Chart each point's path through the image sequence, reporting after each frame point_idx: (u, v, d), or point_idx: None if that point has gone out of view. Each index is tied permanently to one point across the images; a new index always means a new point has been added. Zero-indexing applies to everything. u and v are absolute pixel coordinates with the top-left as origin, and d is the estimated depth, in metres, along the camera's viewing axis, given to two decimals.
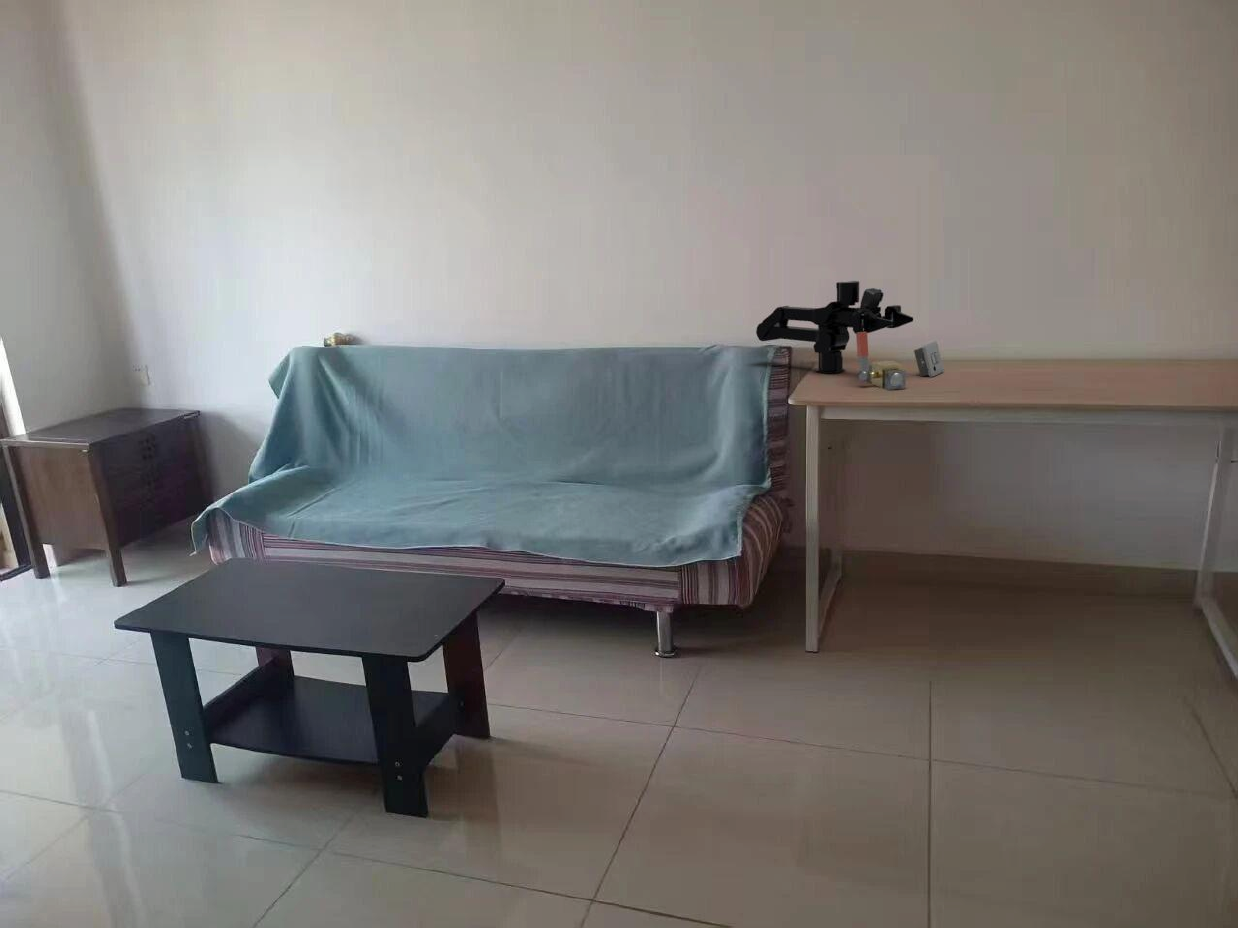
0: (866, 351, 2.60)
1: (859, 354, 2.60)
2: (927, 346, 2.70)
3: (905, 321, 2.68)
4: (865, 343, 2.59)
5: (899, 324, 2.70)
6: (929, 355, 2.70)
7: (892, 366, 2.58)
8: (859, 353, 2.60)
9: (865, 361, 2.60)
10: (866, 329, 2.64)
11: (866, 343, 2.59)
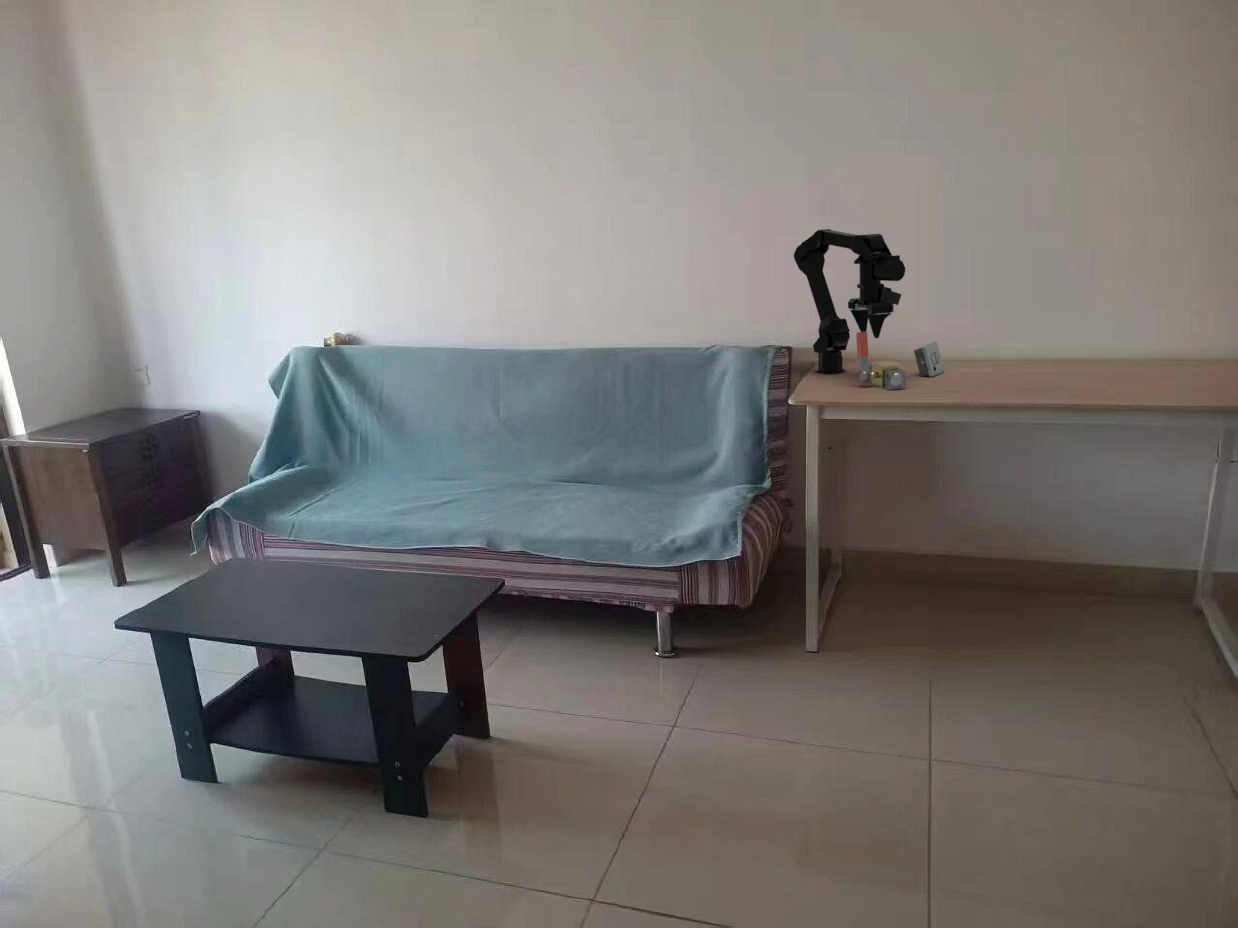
0: (866, 351, 2.60)
1: (859, 354, 2.60)
2: (927, 346, 2.70)
3: (861, 326, 2.74)
4: (865, 343, 2.59)
5: (857, 319, 2.74)
6: (929, 355, 2.70)
7: (892, 366, 2.58)
8: (859, 353, 2.60)
9: (865, 361, 2.60)
10: (874, 316, 2.61)
11: (866, 343, 2.59)
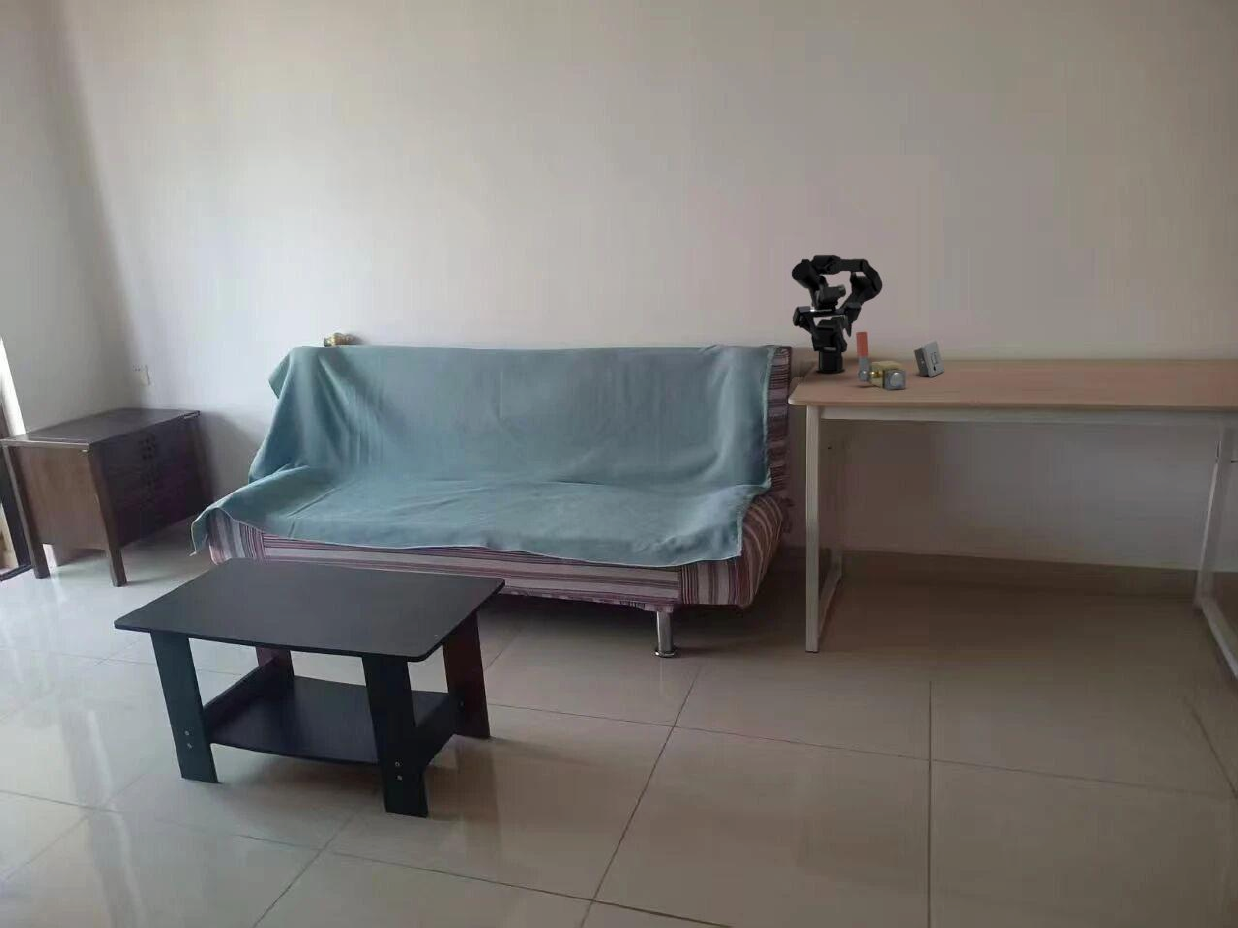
0: (866, 351, 2.60)
1: (859, 354, 2.60)
2: (927, 346, 2.70)
3: (847, 331, 2.69)
4: (865, 343, 2.59)
5: (845, 327, 2.71)
6: (929, 355, 2.70)
7: (892, 366, 2.58)
8: (859, 353, 2.60)
9: (865, 361, 2.60)
10: (801, 325, 2.71)
11: (866, 343, 2.59)
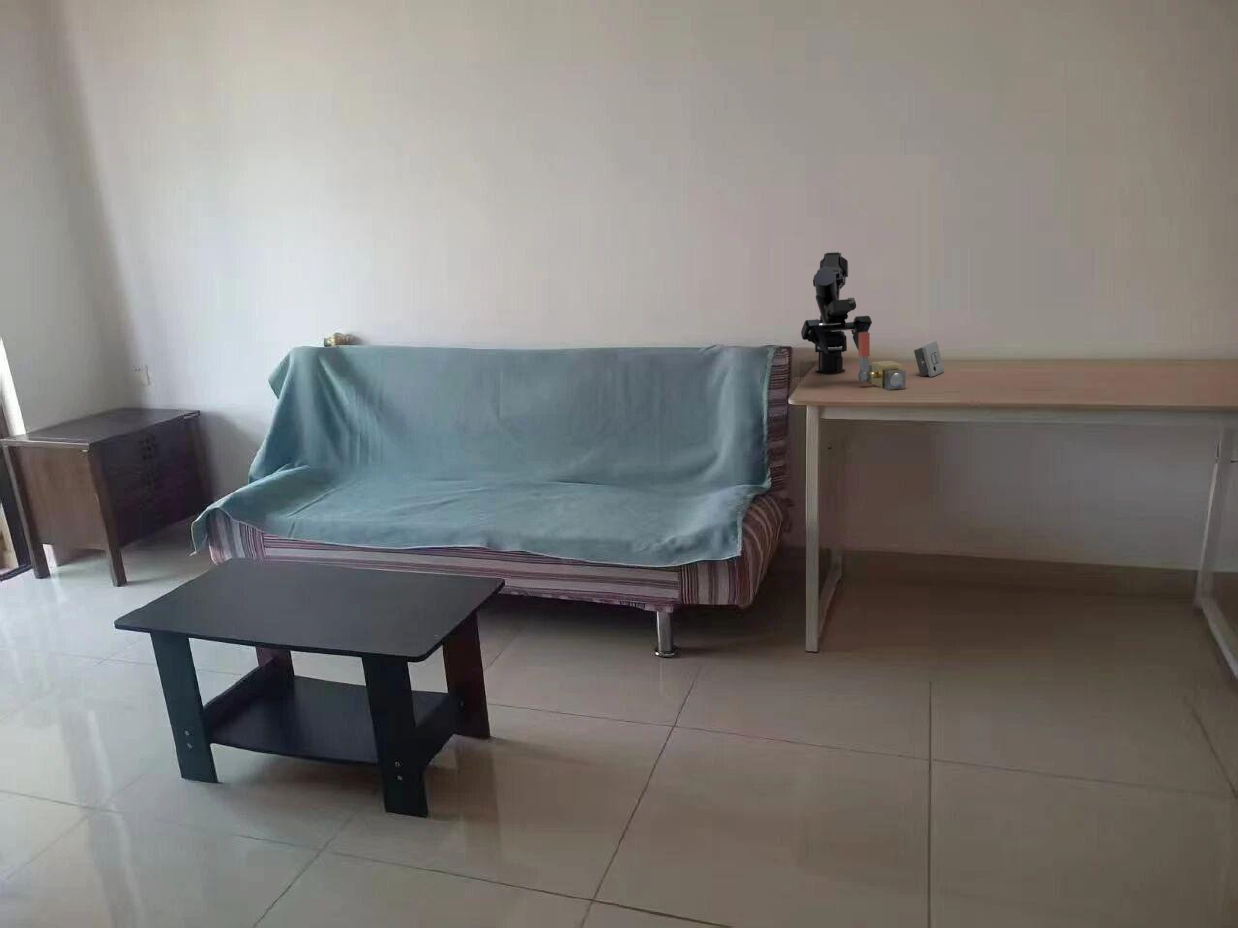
0: (867, 352, 2.59)
1: (860, 354, 2.60)
2: (927, 346, 2.70)
3: (856, 345, 2.63)
4: (867, 344, 2.58)
5: (854, 341, 2.65)
6: (929, 355, 2.70)
7: (892, 366, 2.58)
8: (860, 353, 2.60)
9: (866, 362, 2.60)
10: (810, 339, 2.64)
11: (868, 344, 2.58)
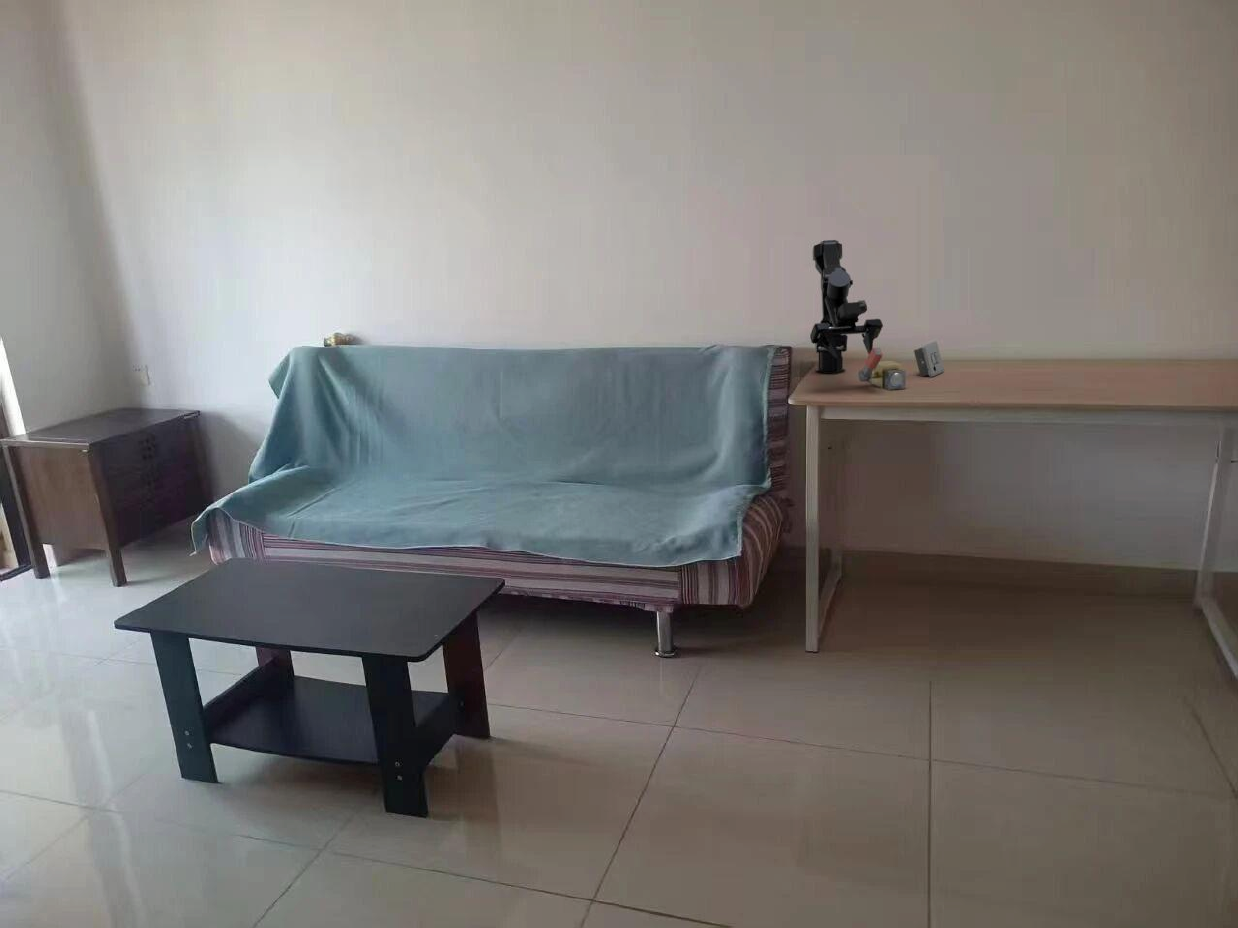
0: (874, 366, 2.55)
1: (867, 365, 2.56)
2: (927, 346, 2.70)
3: (867, 349, 2.56)
4: (876, 362, 2.53)
5: (865, 345, 2.58)
6: (929, 355, 2.70)
7: (892, 366, 2.58)
8: (867, 364, 2.56)
9: (870, 371, 2.57)
10: (819, 343, 2.57)
11: (877, 362, 2.53)
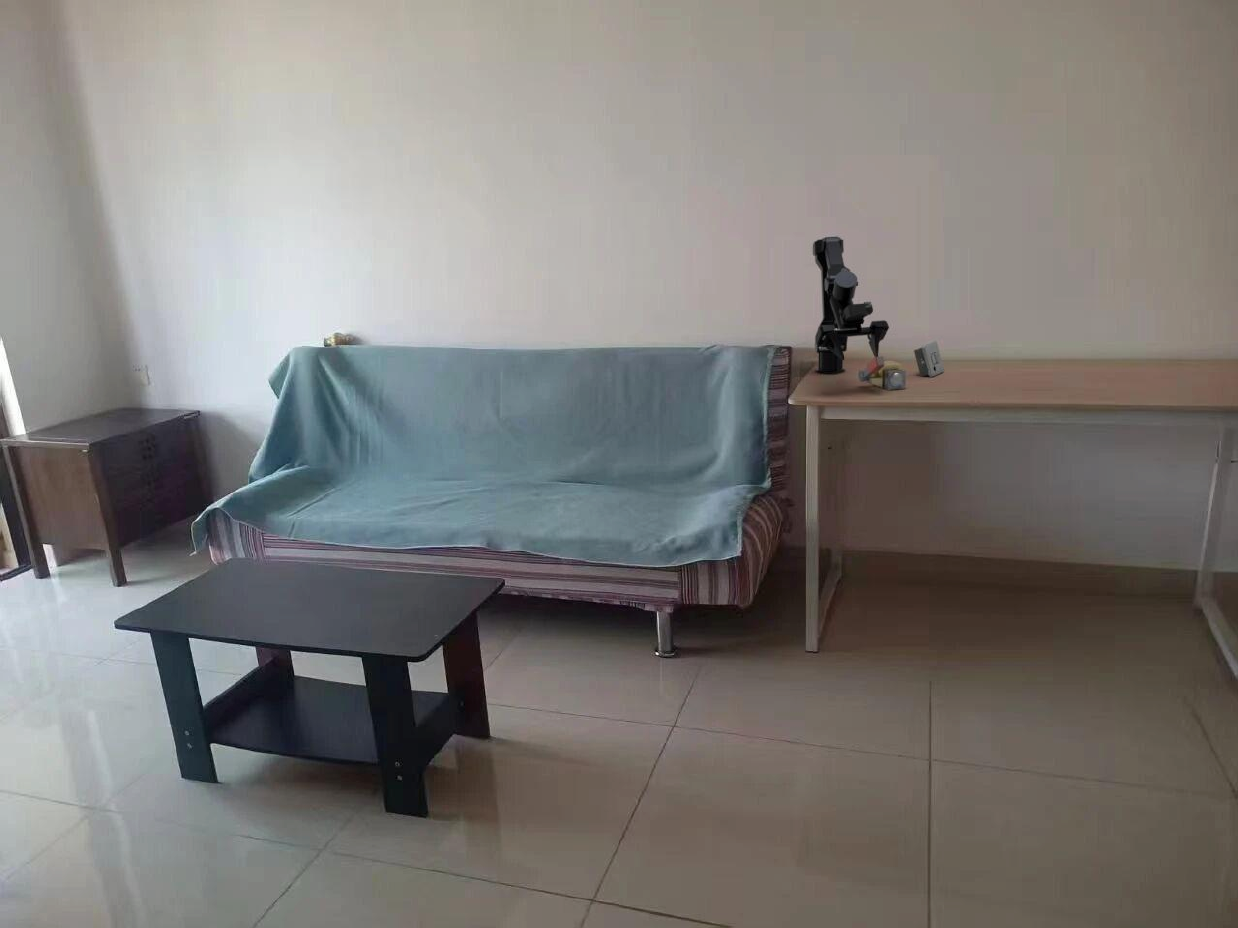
0: (875, 372, 2.55)
1: (868, 369, 2.55)
2: (927, 346, 2.70)
3: (873, 351, 2.52)
4: (878, 369, 2.53)
5: (871, 347, 2.54)
6: (929, 355, 2.70)
7: (892, 366, 2.58)
8: (868, 369, 2.55)
9: (870, 374, 2.57)
10: (824, 345, 2.54)
11: (879, 369, 2.53)
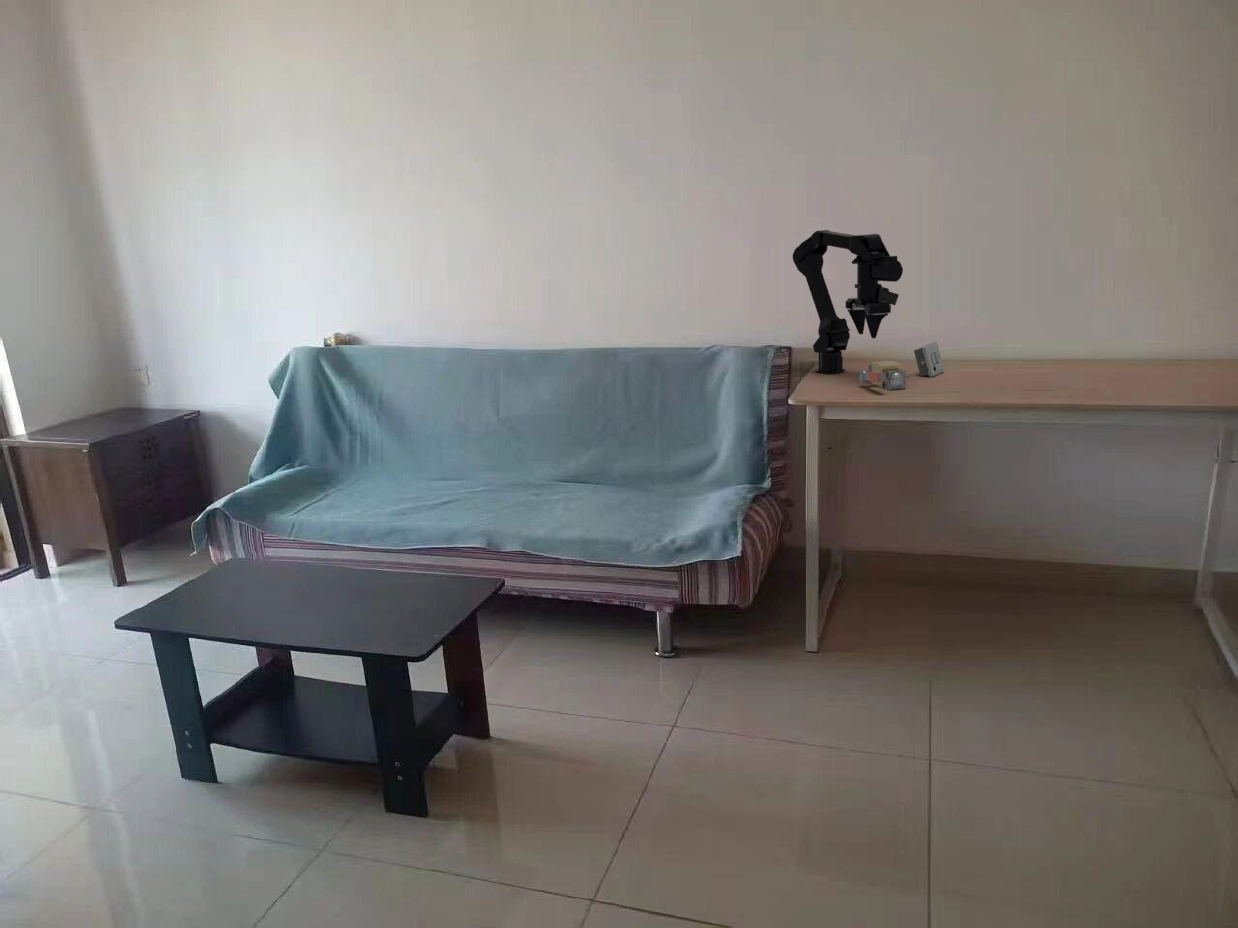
0: None
1: (869, 377, 2.55)
2: (927, 346, 2.70)
3: (858, 326, 2.75)
4: None
5: (855, 318, 2.74)
6: (929, 355, 2.70)
7: (892, 366, 2.58)
8: (869, 377, 2.55)
9: None
10: (872, 316, 2.62)
11: None
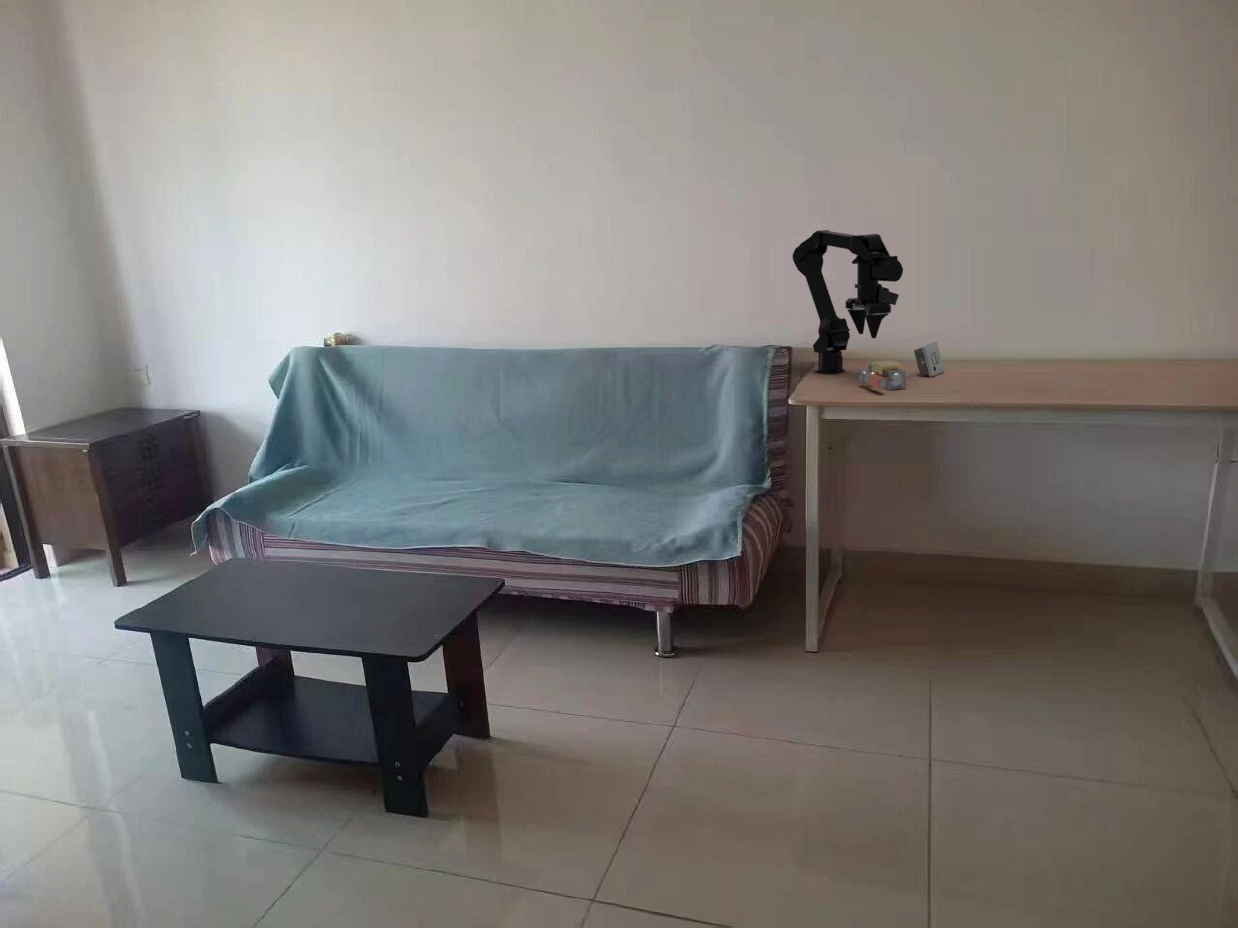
0: None
1: (869, 380, 2.56)
2: (927, 346, 2.70)
3: (859, 326, 2.75)
4: None
5: (855, 318, 2.74)
6: (929, 355, 2.70)
7: (892, 366, 2.58)
8: (869, 381, 2.55)
9: None
10: (872, 316, 2.62)
11: None
